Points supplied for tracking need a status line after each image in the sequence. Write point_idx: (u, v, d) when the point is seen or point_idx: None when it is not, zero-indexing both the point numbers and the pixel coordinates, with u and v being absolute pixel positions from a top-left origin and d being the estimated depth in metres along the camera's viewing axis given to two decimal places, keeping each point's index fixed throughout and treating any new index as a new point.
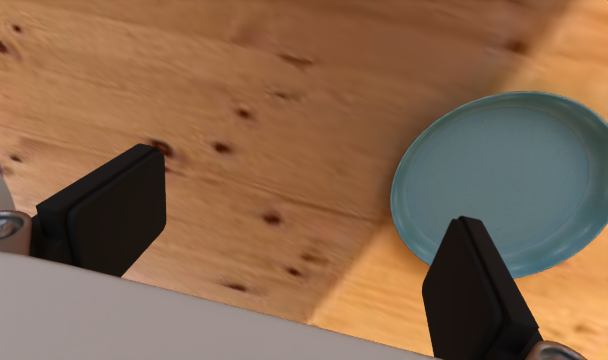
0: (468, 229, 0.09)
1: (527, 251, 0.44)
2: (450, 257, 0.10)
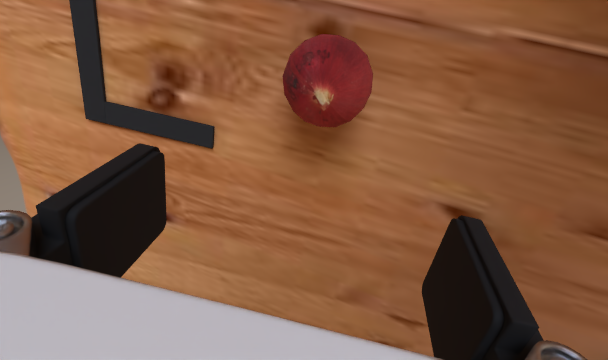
0: (468, 229, 0.09)
1: None
2: (450, 257, 0.10)
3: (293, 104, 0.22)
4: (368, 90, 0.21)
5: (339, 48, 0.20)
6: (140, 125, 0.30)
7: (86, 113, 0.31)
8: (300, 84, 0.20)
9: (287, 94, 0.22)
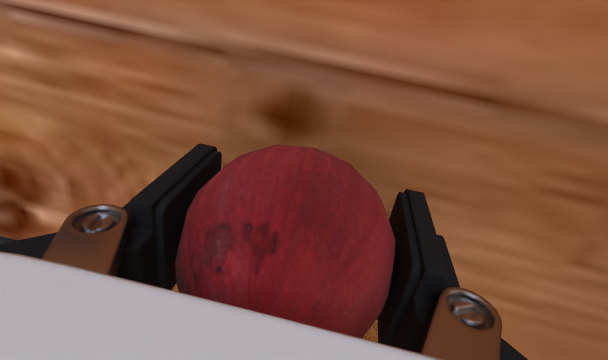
0: (409, 200, 0.10)
1: None
2: (394, 226, 0.10)
3: None
4: (386, 293, 0.08)
5: (307, 214, 0.07)
6: None
7: None
8: None
9: None
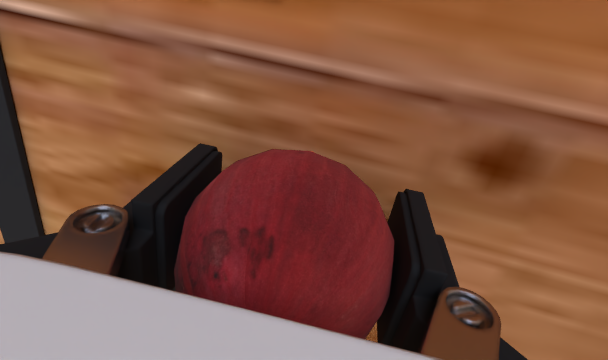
0: (408, 200, 0.10)
1: None
2: (393, 226, 0.10)
3: None
4: (386, 295, 0.08)
5: (303, 217, 0.07)
6: None
7: None
8: None
9: None
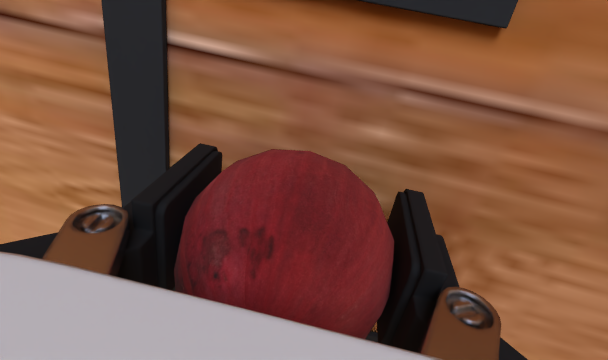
0: (408, 199, 0.10)
1: None
2: (393, 226, 0.10)
3: None
4: (386, 295, 0.08)
5: (303, 218, 0.07)
6: None
7: None
8: None
9: None
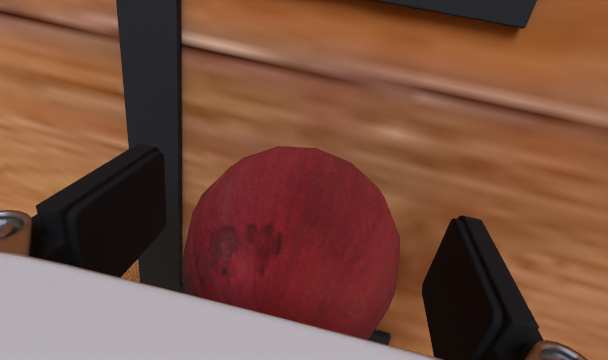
0: (468, 229, 0.09)
1: None
2: (450, 257, 0.10)
3: None
4: (392, 291, 0.08)
5: (310, 214, 0.07)
6: None
7: None
8: None
9: None
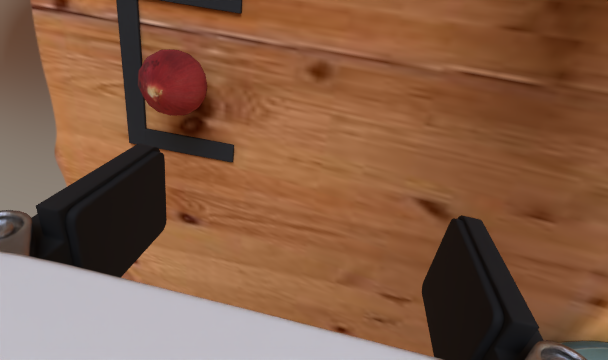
0: (468, 229, 0.09)
1: None
2: (450, 257, 0.10)
3: None
4: (197, 86, 0.30)
5: (167, 58, 0.29)
6: (174, 146, 0.38)
7: (130, 138, 0.38)
8: (141, 85, 0.29)
9: None
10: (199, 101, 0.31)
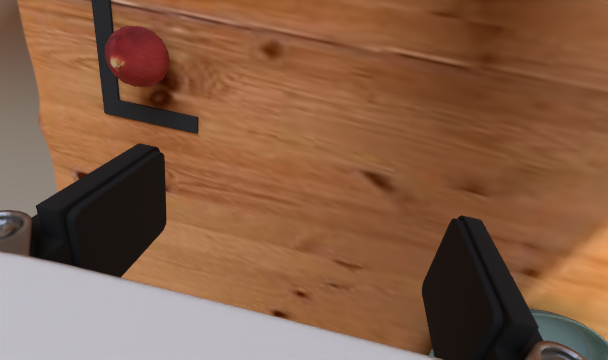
0: (468, 229, 0.09)
1: None
2: (450, 257, 0.10)
3: None
4: (157, 60, 0.34)
5: (129, 33, 0.32)
6: (144, 117, 0.42)
7: (105, 109, 0.42)
8: (106, 57, 0.32)
9: None
10: (161, 74, 0.35)
